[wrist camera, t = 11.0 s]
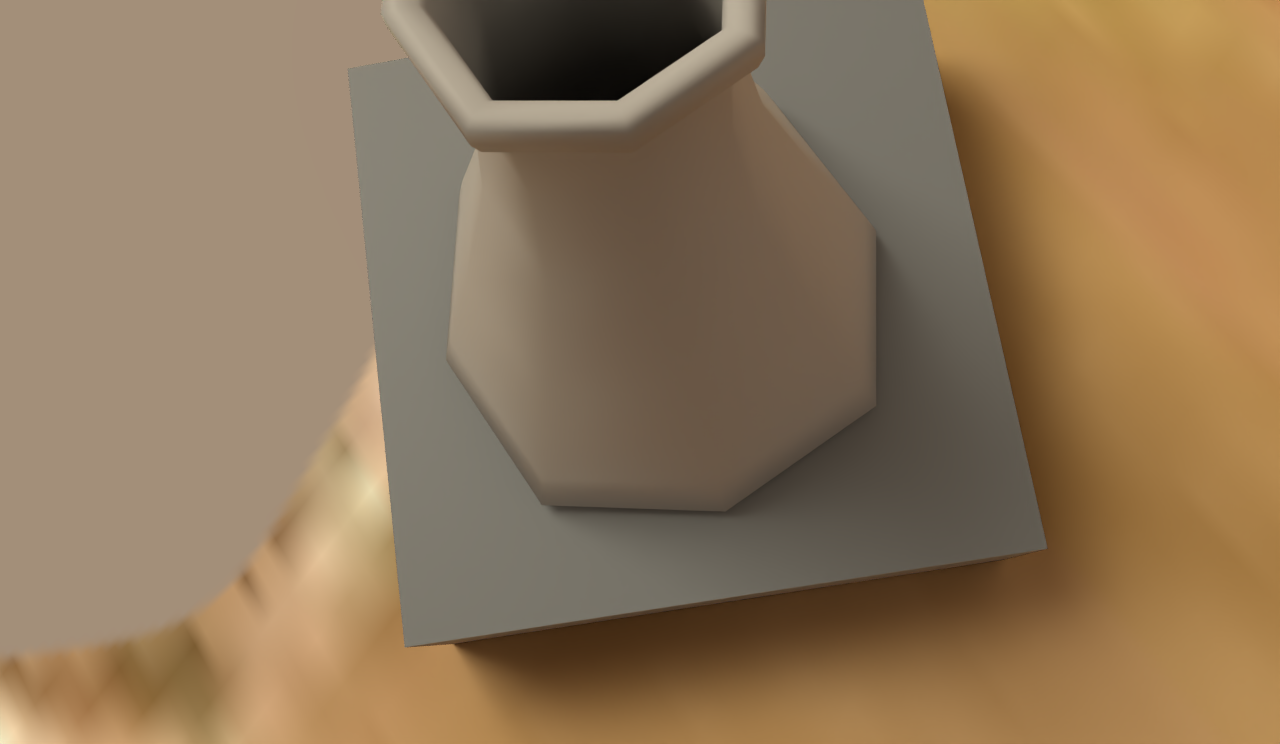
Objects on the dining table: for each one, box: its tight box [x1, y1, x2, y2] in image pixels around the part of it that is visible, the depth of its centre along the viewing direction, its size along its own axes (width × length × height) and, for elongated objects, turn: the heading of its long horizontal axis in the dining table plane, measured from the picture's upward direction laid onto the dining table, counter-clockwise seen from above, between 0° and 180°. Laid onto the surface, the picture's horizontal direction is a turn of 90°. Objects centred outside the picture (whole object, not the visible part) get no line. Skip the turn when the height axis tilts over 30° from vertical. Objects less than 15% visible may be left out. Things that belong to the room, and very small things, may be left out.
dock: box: [348, 0, 1048, 647], centre depth 20 cm, size 10×10×3 cm
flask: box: [381, 0, 876, 512], centre depth 14 cm, size 7×7×10 cm
